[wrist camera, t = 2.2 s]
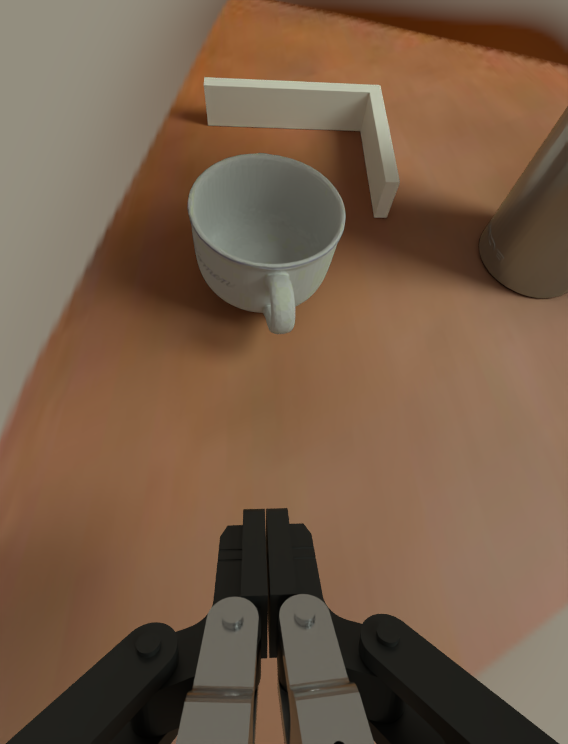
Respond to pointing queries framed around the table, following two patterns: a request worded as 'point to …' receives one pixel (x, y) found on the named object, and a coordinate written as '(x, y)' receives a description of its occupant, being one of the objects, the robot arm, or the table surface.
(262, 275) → the teacup
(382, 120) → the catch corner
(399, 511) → the table surface
